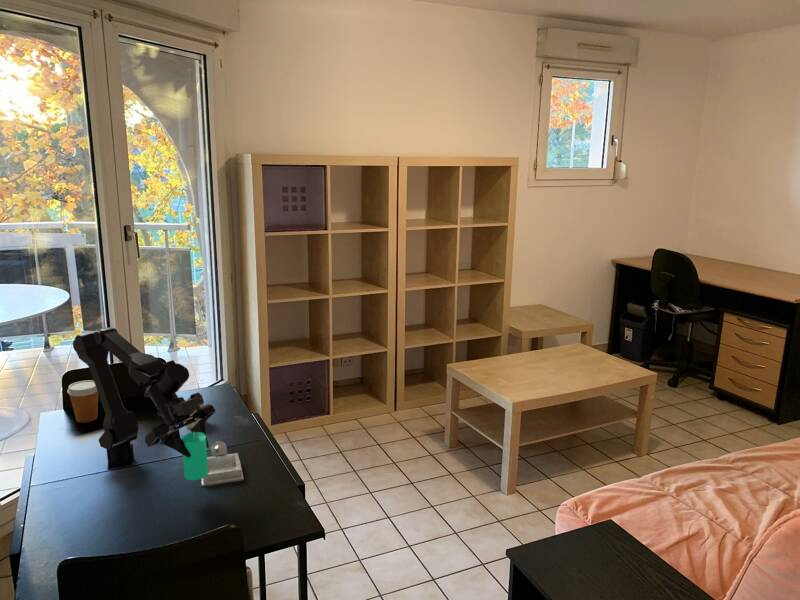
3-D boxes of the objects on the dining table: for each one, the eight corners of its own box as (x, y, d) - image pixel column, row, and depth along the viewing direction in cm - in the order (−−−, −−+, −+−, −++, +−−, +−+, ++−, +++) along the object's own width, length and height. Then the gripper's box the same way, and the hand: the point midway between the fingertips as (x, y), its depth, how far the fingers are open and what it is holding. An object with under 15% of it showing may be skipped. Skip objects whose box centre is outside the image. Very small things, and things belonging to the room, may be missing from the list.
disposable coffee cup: (94, 425, 198) (90, 390, 195) (65, 424, 198) (60, 390, 195) (108, 413, 207) (104, 380, 204) (80, 412, 207) (76, 379, 204)
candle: (187, 482, 153) (184, 439, 150) (181, 472, 158) (178, 429, 155) (211, 476, 156) (209, 433, 153) (204, 466, 161) (202, 424, 158)
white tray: (201, 486, 163) (200, 471, 162) (199, 457, 179) (198, 443, 178) (243, 480, 167) (243, 465, 166) (237, 451, 182) (237, 438, 181)
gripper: (148, 398, 145) (182, 452, 143) (209, 375, 161) (241, 424, 158) (130, 420, 151) (162, 473, 149) (191, 396, 167) (221, 443, 164)
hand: (198, 452), depth 155 cm, fingers closed on candle, 5 cm apart
